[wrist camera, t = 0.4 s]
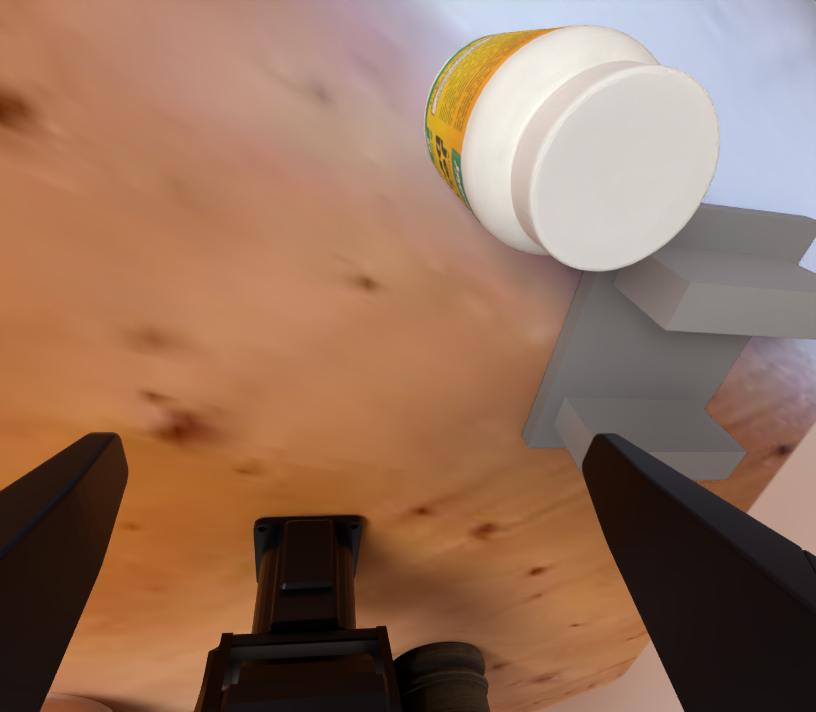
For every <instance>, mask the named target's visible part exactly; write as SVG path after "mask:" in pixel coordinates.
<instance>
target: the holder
mask: <svg viewBox="0 0 816 712" xmlns="http://www.w3.org/2000/svg"><path fill="white" fill-rule="evenodd" d="M815 237H816V220H814V219H812V218H809V217H806V216H799V215H792V214H784V213H776V212H768V211H760V210H752V209H744V208H736V207H728V206H720V205H712V204H704V203H701V204H700V205H699V207H698V209H697V210H696V212H695V213H694V215H693V216H692V217H691V219H690V220H689V221H688V222H687V223H686V225H685V226H684V227H683V228H682V229H681V230H680V231H679V232H678V233H677V234H676V235H675V236H674V237H673V238H672V239H671V240H670V241H669V242H668V243H666V244H665V245H664V246H662V247H661V248H660V249H658V250H657V251H655V252H654V253H652V254H651V255H649V256H647V257H646V258H644V259H642V260H640V261H638V262H636V263H634V264H632V265H629V266H626V267H623V268H619V269H615V270H610V271H585V270H584V272H583V275H582V277H581V280H580V283H579V285H578V288H577V291H576V293H575V296H574V299H573V301H572V304H571V307H570V309H569V312H568V314H567V317H566V320H565V322H564V325H563V328H562V330H561V333H560V336H559V338H558V341H557V343H556V346H555V349H554V351H553V354H552V357H551V359H550V362H549V365H548V367H547V370H546V372H545V375H544V378H543V380H542V383H541V386H540V388H539V391H538V394H537V396H536V399H535V402H534V404H533V407H532V409H531V412H530V415H529V417H528V420H527V423H526V425H525V428H524V431H523V433H522V437H523V440H524V442H525V444H526V446H527V448H567V449H568V451H569V453H570V454H571V456H572V458H573V460H574V461H575V463H576V465H577V466H578V468H579V470H580V471H581V473H582V462H583V459H584V457H585V455H586V452H587V450H588V448H589V446H590V443H591V441H592V439H593V437H594V436H595V435H596V434H599V433H615V434H618V435H620V436H621V437H623V438H625V439H626V440H628V441H629V442H631V443H633V444H634V445H636V446H638V447H639V448H641V449H642V450H644V451H646V452H647V453H649V454H651V455H652V456H654V457H655V458H657V459H659V460H660V461H662V462H663V463H665V464H667V465H668V466H670V467H672V468H673V469H675V470H676V471H678V472H680V473H681V474H683V475H685V476H686V477H688V478H689V479H691V480H727V479H728V477H729V476H730V475H731V473H732V472H733V471H734V469H735V468H736V467H737V466H738V464H739V463H740V462H741V460H742V459H743V458H744V456H745V455H746V454H747V451H746V450H745V449H744V448H743V447H742V446H741V445H740V444H739V443H738V442H737V441H736V440H735V439H734V438H733V437H731V436H730V435H729V434H728V433H727V432H726V431H725V430H724V429H723V428H722V427H721V426H720V425H719V424H718V423H717V422H716V421H715V420H714V419H713V418H712V417H711V416H710V415H709V414H708V413H707V412H706V411H705V410H704V409H705V408H706V406H707V404H708V403H709V401H710V400H711V398H712V397H713V395H714V394H715V392H716V390H717V389H718V387H719V386H720V384H721V383H722V381H723V380H724V378H725V377H726V375H727V373H728V372H729V370H730V369H731V367H732V366H733V364H734V363H735V361H736V360H737V358H738V356H739V355H740V353H741V352H742V350H743V349H744V347H745V346H746V344H747V342H748V341H749V339H750V338H751V336H766V337H783V338H799V339H816V274H815V273H813V272H811V271H809V270H807V269H805V268H803V267H801V266H799V265H798V263H799V262H800V260H801V259H802V257H803V256H804V254H805V253H806V251H807V250H808V248H809V246H810V245H811V243H812V242H813V240H814V239H815ZM582 475H583V473H582ZM583 477H584V476H583Z"/></svg>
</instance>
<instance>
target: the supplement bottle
mask: <svg viewBox="0 0 816 712" xmlns="http://www.w3.org/2000/svg"><path fill="white" fill-rule="evenodd" d="M424 137H425V142H426V147H427V151H428V154H429V156H430V159H431V161H432V163H433V164H434V166H435V168H436V169H437V170H438V172H439V174H440V175H441V176H442V177H443V178H444V180H445V181H446V182H447V183H448V184H449V186H450V187H451V188H452V189H453V190H454V192H455V193H456V194H457V195H458V197H459V198H460V199H461V200H462V202H463V203H464V204H465V205H466V207H467V208H468V209H469V210H470V211H471V212H472V214H473V215H474V216H475V217H476V219H477V220H478V221H479V222H480V224H481V225H482V226H483V227H484V228H485V229H486V230H487V231H488V232H489V233H490V234H492V235H493V236H494V237H495V238H496V239H498V240H499V241H501V242H502V243H504V244H506V245H507V246H509V247H511V248H513V249H516V250H518V251H521V252H525V253H529V254H534V255H551V256H552V257H553V258H555V259H556V260H558V261H559V262H561V263H562V264H564V265H566V266H569V267H572V268H576V269H579V270H585V271H610V270H615V269H619V268H623V267H626V266H629V265H632V264H634V263H636V262H638V261H640V260H642V259H644V258H646V257H647V256H649V255H651V254H652V253H654V252H655V251H657V250H658V249H660V248H661V247H662V246H664V245H665V244H666V243H668V242H669V241H670V240H671V239H672V238H673V237H674V236H675V235H676V234H677V233H678V232H679V231H680V230H681V229H682V228H683V227H684V226H685V225H686V223H687V222H688V221H689V220H690V219H691V217H692V216H693V215H694V213H695V212H696V210H697V209H698V207H699V205H700V204H701V202H702V200H703V199H704V197H705V195H706V193H707V191H708V189H709V186H710V184H711V182H712V179H713V177H714V173H715V170H716V166H717V162H718V158H719V151H720V129H719V121H718V116H717V113H716V110H715V107H714V105H713V102H712V100H711V98H710V97H709V95H708V94H707V92H706V91H705V89H704V88H703V87H702V85H701V84H700V83H699V82H697V81H696V80H695V79H694V78H693V77H691V76H689V75H687V74H686V73H684V72H682V71H680V70H678V69H675V68H671V67H667V66H663V65H660V64H659V62H658V61H657V59H656V58H655V57H654V56H653V54H652V53H651V52H650V51H649V50H648V49H647V48H646V47H645V46H643V45H642V44H641V43H640V42H638V41H637V40H636V39H634V38H632V37H631V36H629V35H627V34H625V33H623V32H620V31H617V30H614V29H611V28H606V27H602V26H590V25H583V26H569V27H560V28H551V29H539V30H529V31H517V32H509V33H500V34H492V35H488V36H484V37H481V38H478V39H476V40H474V41H471V42H469V43H468V44H466V45H464V46H463V47H462V48H460V49H459V50H458V51H457V52H455V53H454V54H453V55H452V56H451V57H450V58H449V59H448V60H447V61H446V63H445V64H444V65H443V67H442V68H441V69H440V71H439V72H438V74H437V75H436V77H435V79H434V81H433V83H432V85H431V88H430V91H429V94H428V97H427V101H426V106H425V113H424Z"/></svg>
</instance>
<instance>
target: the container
mask: <svg viewBox="0 0 816 712" xmlns="http://www.w3.org/2000/svg"><path fill="white" fill-rule="evenodd" d="M393 664H394V669H395V674H396V679H397V684H398V689H399V695H400V701H401V709H402V712H490V709H489V704H488V700H487V696H486V695H487V692H488V681H487V679H486V678H485V677H484V674H485V662H484V659H483V657H482V655H481V653H480V652H479V651H478V650H477V649H476V648H474V647H472V646H470V645H466V644H461V643H437V644H431V645H426V646H423V647H419V648H416V649H413V650H411V651H409V652H407V653H405V654H403V655H401V656H400V657H398V658H397V659H396V660H394V661H393Z"/></svg>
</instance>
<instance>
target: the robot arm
mask: <svg viewBox="0 0 816 712" xmlns="http://www.w3.org/2000/svg"><path fill="white" fill-rule="evenodd" d="M582 473H583V476H584V479H585V482H586V485H587V488H588V491H589V493H590V496H591V499H592V502H593V505H594V508H595V511H596V514H597V517H598V519H599V522H600V525H601V528H602V531H603V534H604V536H605V539H606V541H607V544H608V546H609V548H610V551H611V553H612V555H613V557H614V559H615V562H616V564H617V566H618V568H619V570H620V573H621V575H622V577H623V579H624V581H625V583H626V586H627V588H628V590H629V592H630V594H631V596H632V599H633V601H634V603H635V605H636V607H637V610H638V612H639V614H640V616H641V618H642V620H643V623H644V625H645V627H646V629H647V631H648V633H649V636H650V638H651V640H652V642H653V644H654V646H655V648H656V651H657V653H658V655H659V657H660V659H661V662H662V664H663V666H664V668H665V670H666V673H667V675H668V677H669V679H670V681H671V683H672V686H673V688H674V690H675V692H676V694H677V697H678V699H679V701H680V703H681V705H682V707H683V709H684V712H816V556H814V555H813V554H811V553H810V552H808V551H806V550H802V548H801V547H800V546H798V545H796V544H795V543H793V542H792V541H790V540H788V539H787V538H785V537H783V536H782V535H780V534H779V533H777V532H775V531H774V530H772V529H770V528H768V527H767V526H766V525H764V524H762V523H761V522H759V521H757V520H756V519H754V518H753V517H751V516H749V515H748V514H746V513H744V512H743V511H741V510H740V509H738V508H736V507H735V506H733V505H732V504H730V503H728V502H727V501H725V500H723V499H722V498H720V497H719V496H717V495H715V494H714V493H712V492H710V491H709V490H707V489H706V488H704V487H702V486H701V485H699V484H697V483H696V482H694V481H693V480H691V479H689V478H688V477H686V476H685V475H683V474H681V473H680V472H678V471H676V470H675V469H673V468H672V467H670V466H668V465H667V464H665V463H663V462H662V461H660V460H659V459H657V458H655V457H654V456H652V455H651V454H649V453H647V452H646V451H644V450H642V449H641V448H639V447H638V446H636V445H634V444H633V443H631V442H629V441H628V440H626V439H625V438H623V437H621V436H620V435H618V434H615V433H599V434H596V435H595V436H594V437H593V439H592V441H591V443H590V446H589V448H588V450H587V452H586V455H585V457H584V459H583V462H582ZM127 480H128V465H127V461H126V457H125V453H124V449H123V445H122V441H121V438H120V436H119V435H118V434H117V433H114V432H94V433H89V434H87V435H85V436H84V437H82V438H81V439H79V440H78V441H76V442H75V443H73V444H72V445H70V446H68V447H67V448H65V449H64V450H62V451H61V452H59V453H58V454H56V455H55V456H53V457H52V458H50V459H49V460H47V461H46V462H44V463H43V464H41V465H39V466H38V467H36V468H35V469H33V470H32V471H30V472H29V473H27V474H26V475H24V476H23V477H21V478H20V479H18V480H17V481H15V482H13V483H12V484H10V485H9V486H7V487H6V488H4V489H3V490H1V491H0V712H40V710H41V708H42V706H43V703H44V701H45V699H46V696H47V694H48V692H49V689H50V687H51V685H52V682H53V680H54V678H55V675H56V673H57V671H58V668H59V666H60V663H61V661H62V659H63V656H64V654H65V652H66V649H67V647H68V645H69V642H70V640H71V638H72V635H73V633H74V631H75V628H76V626H77V624H78V621H79V619H80V617H81V614H82V612H83V609H84V607H85V605H86V602H87V600H88V598H89V595H90V593H91V591H92V588H93V586H94V584H95V581H96V579H97V576H98V574H99V571H100V569H101V566H102V563H103V560H104V557H105V554H106V551H107V548H108V544H109V541H110V537H111V534H112V531H113V527H114V524H115V521H116V517H117V514H118V510H119V507H120V504H121V500H122V497H123V493H124V490H125V487H126V483H127ZM361 532H362V519H361V518H360V517H358V516H340V517H302V518H264V519H258V520H257V521H255V524H254V545H255V562H256V578H257V583H258V589H257V596H256V604H255V611H254V619H253V626H252V634H235V635H233V633H222V637H221V641H220V645H219V646H218V647H217V648H215V649H213V650H211V651H209V653H208V658H207V663H206V668H205V673H204V678H203V683H202V687H201V690H200V694H199V697H198V700H197V704H196V707H195V710H194V712H402V709H401V701H400V695H399V689H398V684H397V679H396V674H395V669H394V664H393V659H392V653H391V648H390V643H389V638H388V633H387V628H386V626H376V628H366V629H356V619H355V597H354V578H355V574H356V567H357V560H358V553H359V546H360V539H361Z"/></svg>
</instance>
